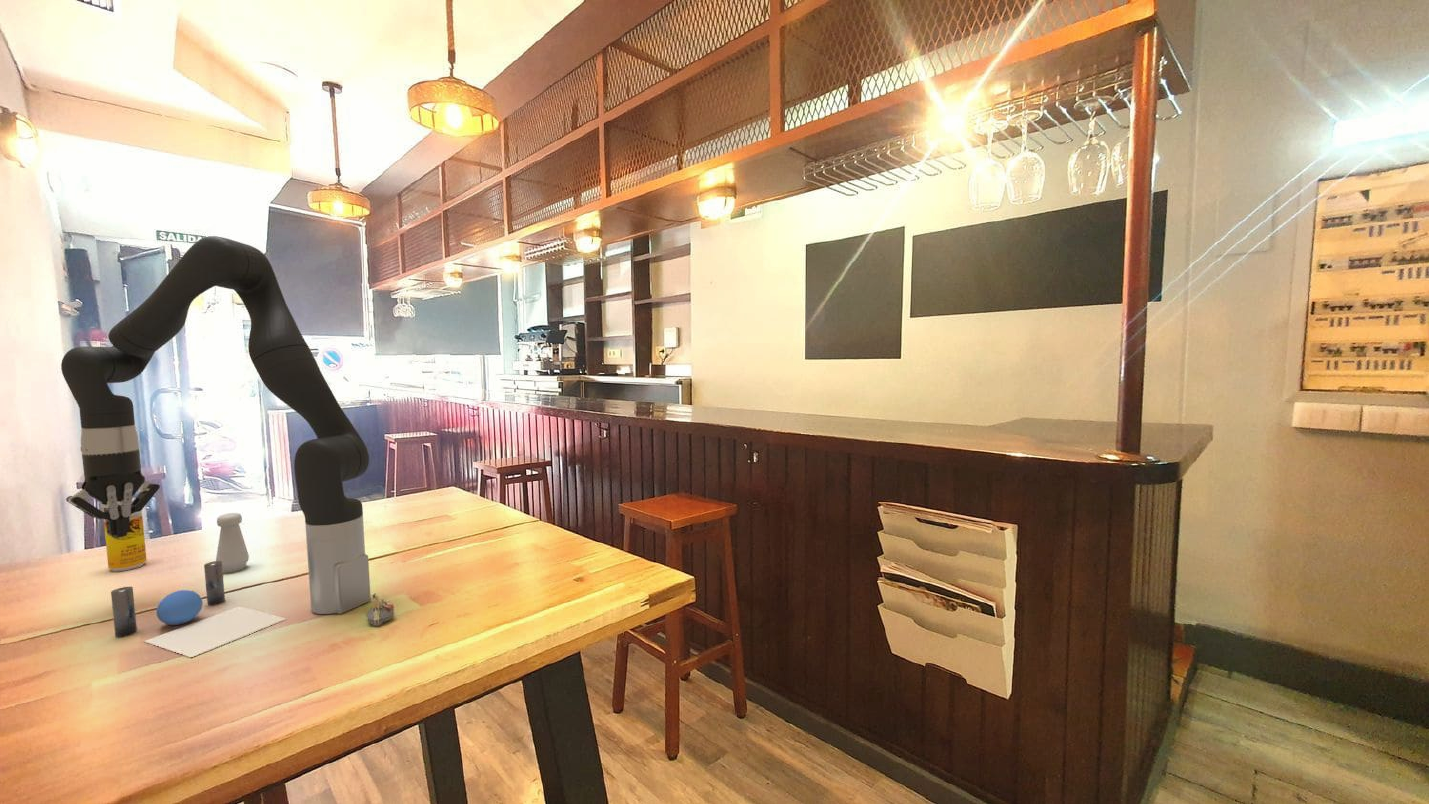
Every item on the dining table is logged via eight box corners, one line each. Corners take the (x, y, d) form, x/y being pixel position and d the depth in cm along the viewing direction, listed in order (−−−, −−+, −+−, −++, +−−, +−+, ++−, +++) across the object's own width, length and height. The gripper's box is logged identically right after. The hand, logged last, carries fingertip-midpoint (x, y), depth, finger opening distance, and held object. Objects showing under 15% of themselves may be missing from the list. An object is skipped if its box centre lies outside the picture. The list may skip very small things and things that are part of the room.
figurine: (370, 615, 102) (368, 586, 101) (397, 612, 104) (395, 583, 103) (363, 632, 98) (361, 602, 96) (391, 629, 99) (390, 599, 98)
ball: (193, 613, 104) (211, 617, 102) (152, 628, 99) (169, 633, 96) (189, 582, 104) (207, 586, 101) (147, 596, 98) (164, 601, 96)
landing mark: (286, 619, 101) (285, 618, 101) (191, 658, 88) (190, 657, 88) (240, 607, 106) (240, 606, 106) (144, 642, 93) (144, 641, 93)
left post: (140, 631, 97) (135, 587, 97) (119, 638, 95) (115, 593, 94) (132, 628, 98) (128, 585, 98) (112, 635, 96) (107, 591, 95)
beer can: (126, 572, 124) (120, 507, 123) (100, 572, 124) (94, 507, 123) (154, 562, 130) (148, 500, 129) (129, 562, 130) (123, 500, 129)
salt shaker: (219, 576, 121) (214, 519, 120) (213, 570, 125) (208, 515, 124) (253, 568, 126) (248, 513, 125) (246, 563, 130) (241, 509, 128)
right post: (228, 600, 109) (224, 561, 109) (212, 606, 107) (208, 566, 106) (220, 598, 110) (217, 560, 110) (204, 604, 108) (201, 564, 107)
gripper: (70, 456, 99) (80, 550, 100) (165, 445, 111) (173, 528, 112) (51, 454, 102) (60, 545, 103) (145, 443, 114) (153, 524, 115)
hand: (119, 536), depth 108 cm, fingers closed
